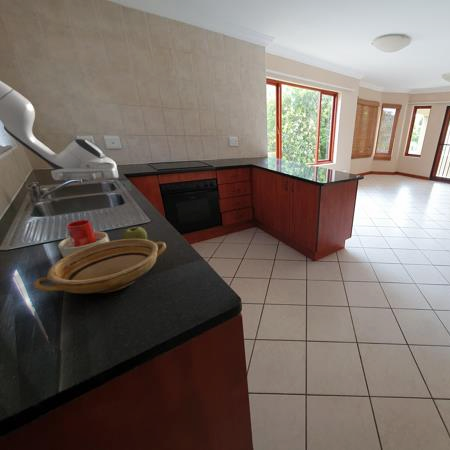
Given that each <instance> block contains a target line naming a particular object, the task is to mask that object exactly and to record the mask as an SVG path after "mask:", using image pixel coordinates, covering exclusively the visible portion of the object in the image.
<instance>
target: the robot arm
mask: <svg viewBox="0 0 450 450" xmlns="http://www.w3.org/2000/svg"><path fill="white" fill-rule="evenodd" d="M35 119H36V110H35V107H34V106H33V104H32V102H31V101H30V100H29V99H27V98H26V97H25V96H23V95H22V94H21V93H20V92H18V91H17V90H15V89H13V88H12V87H11V86H9V85H8V84H6V83H5V82H3V81H2V80H0V122H1V123H2V124H3V129H4V131H6V133H7V134H8V135H9V136H10V137H12V138H13V139H14V140H15V141H17V142H18V143H19V144H21V145H22V146H23V147H25V148H26V149H27V150H29V151H30V152H31V153H33V154H34V155H35V156H37V157H38V158H40V159H41V160H42V161H44V162H45V163H46V164H47V165H49V166H50V167H51V168H52V169H53V170H50V175H51V177H52V179H53V180H54V181H71V180H72V181H73V180H86V181H88V182H91V183H98V182H101V181H105V180H115V179H119V171H118V166H117V163H116V162H115V160H113V159H112V158H110V157H108V156H106V154H105V152H104V151H103V150H102V148H100V147H99V146H98V145H97V144H95V142H92V141H90V140H87V139H82V138H76V139H74V140H73V141H72V142H71V143H69V144H68V145H67V147H65V148H64V149H63V150H61V152H60V153H55V152H54V151H53V150H51V149H50V148H49V147H48V146H46V145H45V144H44V143H42V142H41V141H40V140H38V139H37V138H36V137H35V135H34V133H33V126H34V122H35Z"/></svg>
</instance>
